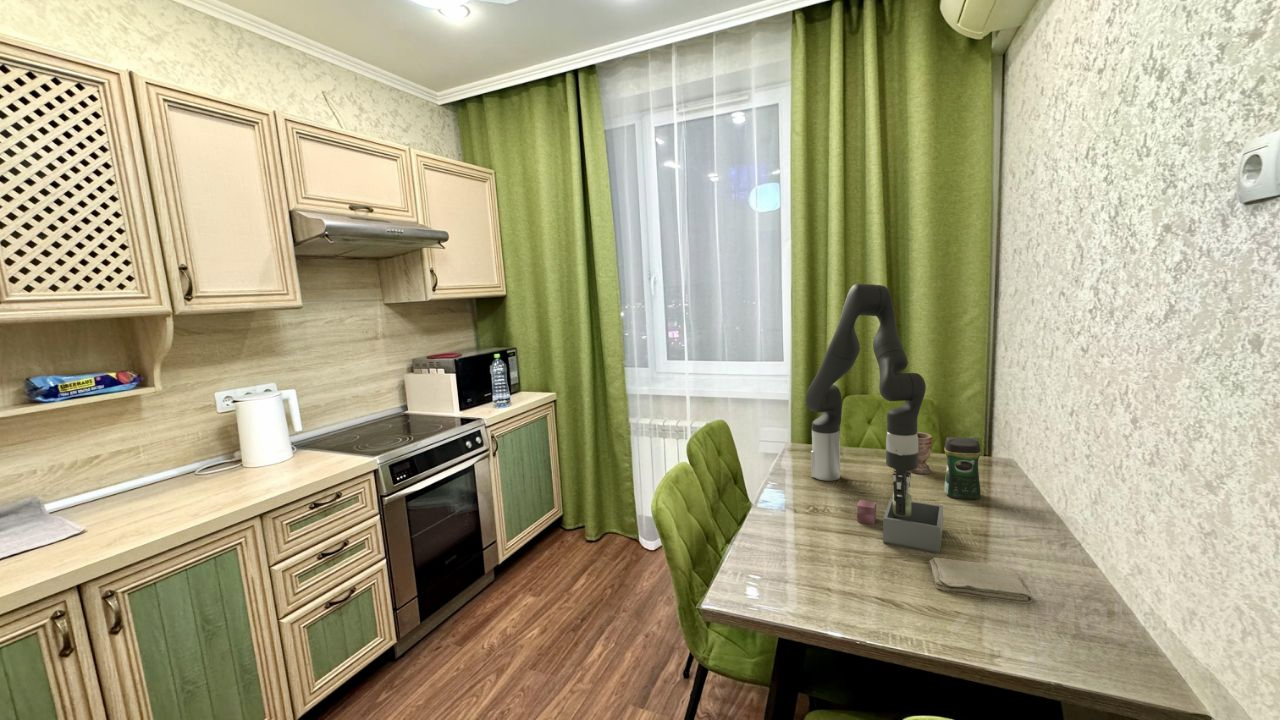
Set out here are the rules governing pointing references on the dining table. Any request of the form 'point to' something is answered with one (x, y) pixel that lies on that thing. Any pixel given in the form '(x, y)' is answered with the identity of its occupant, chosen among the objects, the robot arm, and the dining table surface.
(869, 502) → the pink cube
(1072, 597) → the dining table surface
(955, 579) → the washcloth
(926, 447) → the mortar and pestle
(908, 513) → the green cylinder
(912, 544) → the bin
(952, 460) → the coffee jar
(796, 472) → the dining table surface
